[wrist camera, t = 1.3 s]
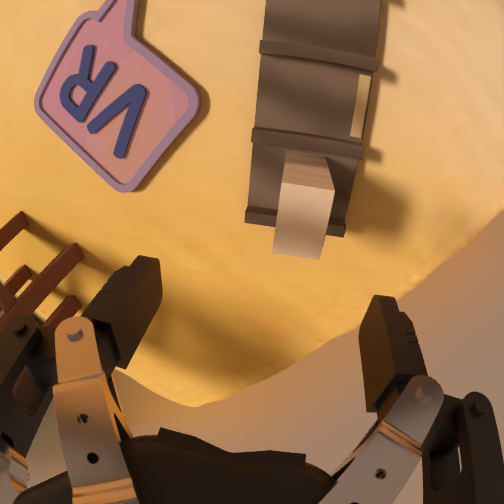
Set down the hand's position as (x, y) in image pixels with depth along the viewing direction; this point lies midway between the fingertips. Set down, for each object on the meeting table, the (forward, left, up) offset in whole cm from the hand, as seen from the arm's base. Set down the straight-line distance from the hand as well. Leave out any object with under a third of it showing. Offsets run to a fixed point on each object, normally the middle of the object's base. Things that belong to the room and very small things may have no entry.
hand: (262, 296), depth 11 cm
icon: (-7, -18, -22) cm, 29 cm away
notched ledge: (-6, +2, -21) cm, 22 cm away
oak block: (+2, +2, -20) cm, 20 cm away
